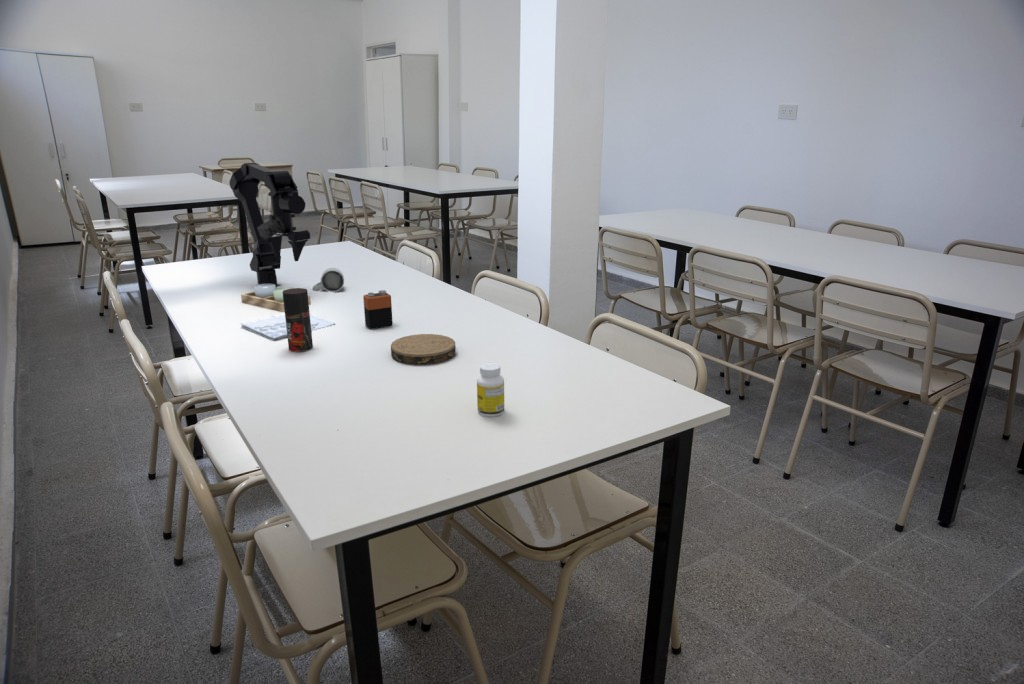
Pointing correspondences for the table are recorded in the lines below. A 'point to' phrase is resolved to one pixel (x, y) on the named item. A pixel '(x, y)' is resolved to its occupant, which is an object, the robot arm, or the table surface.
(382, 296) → the battery
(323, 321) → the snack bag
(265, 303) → the divided wooden tray
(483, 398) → the supplement bottle
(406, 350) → the wood slice coaster
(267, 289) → the pale blue rounded cylinder
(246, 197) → the robot arm
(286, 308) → the deodorant
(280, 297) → the sage green cylinder
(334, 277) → the ceramic mug
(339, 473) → the table surface
